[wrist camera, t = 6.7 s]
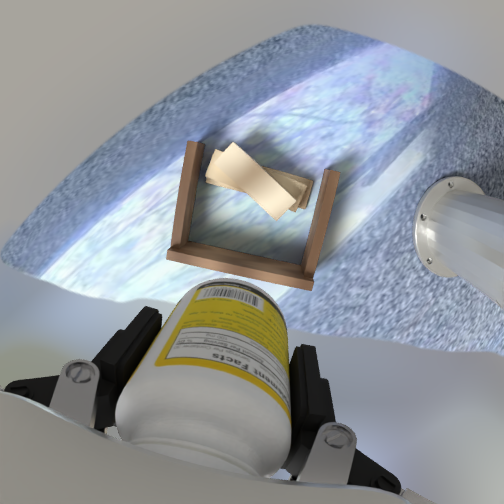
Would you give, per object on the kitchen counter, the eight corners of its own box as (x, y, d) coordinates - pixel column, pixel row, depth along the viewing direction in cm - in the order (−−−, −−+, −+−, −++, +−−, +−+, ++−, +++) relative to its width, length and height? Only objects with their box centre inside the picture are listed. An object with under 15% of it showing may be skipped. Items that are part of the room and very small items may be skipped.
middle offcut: (305, 184, 31) (307, 185, 30) (294, 210, 32) (295, 212, 31) (217, 149, 31) (215, 149, 30) (207, 175, 32) (204, 176, 30)
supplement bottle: (218, 384, 15) (173, 548, 6) (155, 307, 14) (41, 461, 5) (308, 344, 14) (326, 538, 5) (247, 252, 13) (182, 444, 4)
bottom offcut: (311, 180, 32) (313, 180, 31) (303, 207, 33) (305, 209, 32) (214, 154, 32) (212, 153, 31) (208, 181, 33) (205, 182, 32)
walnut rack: (333, 171, 31) (342, 172, 27) (306, 275, 34) (311, 290, 30) (196, 142, 31) (184, 139, 27) (178, 247, 35) (166, 259, 30)
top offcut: (295, 199, 30) (296, 201, 29) (276, 218, 31) (276, 221, 30) (234, 142, 29) (232, 141, 28) (216, 162, 30) (213, 163, 29)
